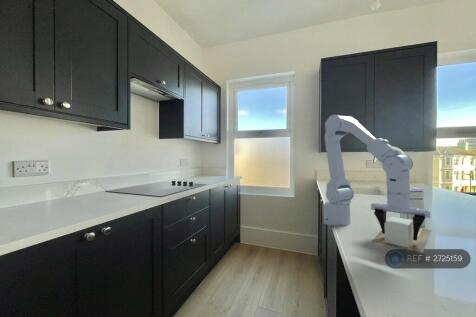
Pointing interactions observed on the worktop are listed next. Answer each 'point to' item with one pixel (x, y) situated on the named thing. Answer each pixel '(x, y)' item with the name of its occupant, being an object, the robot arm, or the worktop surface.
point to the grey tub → (399, 231)
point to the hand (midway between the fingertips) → (399, 235)
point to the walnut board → (415, 244)
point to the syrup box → (415, 202)
